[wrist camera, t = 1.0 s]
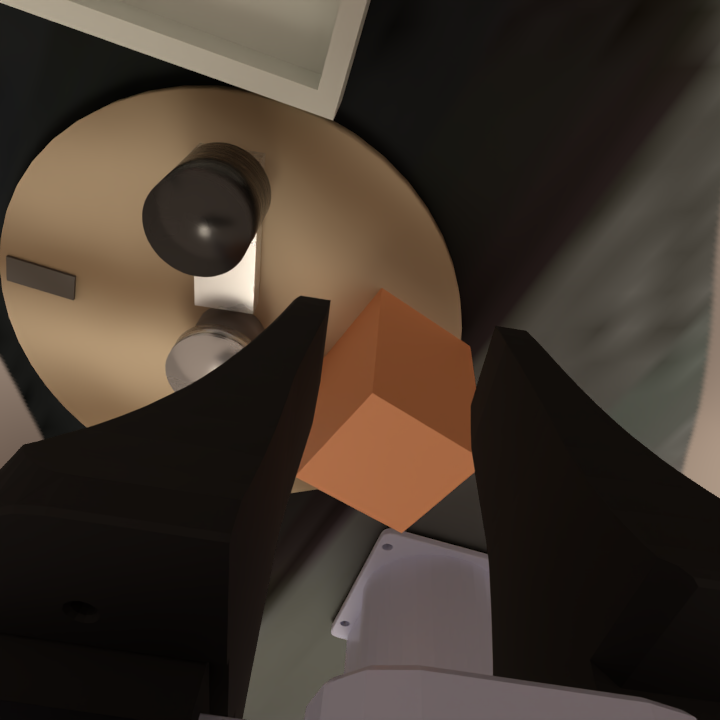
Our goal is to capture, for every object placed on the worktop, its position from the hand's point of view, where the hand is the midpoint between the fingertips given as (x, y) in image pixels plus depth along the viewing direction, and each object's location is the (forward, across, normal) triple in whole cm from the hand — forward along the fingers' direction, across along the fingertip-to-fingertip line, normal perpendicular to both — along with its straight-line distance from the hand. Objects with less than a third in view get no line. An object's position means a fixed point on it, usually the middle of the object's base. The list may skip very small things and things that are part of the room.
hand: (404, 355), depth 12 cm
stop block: (+9, -1, +6) cm, 10 cm away
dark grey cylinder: (+8, +5, +6) cm, 12 cm away
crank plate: (+9, +6, +6) cm, 12 cm away
